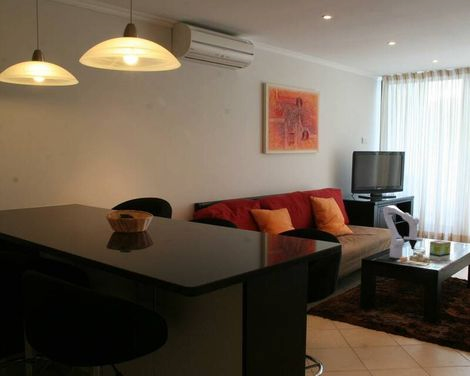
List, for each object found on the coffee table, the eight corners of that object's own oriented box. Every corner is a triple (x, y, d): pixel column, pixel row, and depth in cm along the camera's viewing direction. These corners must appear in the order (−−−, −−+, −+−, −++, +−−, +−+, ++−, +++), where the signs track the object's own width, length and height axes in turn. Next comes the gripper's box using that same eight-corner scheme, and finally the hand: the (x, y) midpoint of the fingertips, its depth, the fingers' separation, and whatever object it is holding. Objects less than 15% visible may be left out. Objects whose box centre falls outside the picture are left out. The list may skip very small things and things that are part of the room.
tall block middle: (416, 261, 378) (416, 253, 377) (418, 260, 381) (418, 252, 380) (421, 262, 375) (421, 254, 375) (423, 261, 378) (423, 253, 378)
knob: (400, 260, 375) (400, 257, 375) (402, 259, 378) (402, 256, 378) (405, 261, 372) (405, 257, 372) (407, 260, 376) (407, 256, 376)
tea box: (440, 261, 379) (440, 243, 378) (428, 259, 387) (429, 241, 386) (450, 259, 388) (451, 241, 387) (438, 256, 396) (439, 239, 395)
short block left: (409, 260, 381) (409, 255, 381) (411, 259, 384) (411, 255, 384) (414, 261, 379) (414, 256, 379) (416, 260, 382) (416, 255, 382)
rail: (397, 261, 376) (397, 260, 376) (401, 260, 382) (401, 259, 382) (425, 266, 361) (425, 265, 361) (428, 264, 367) (428, 263, 367)
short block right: (423, 262, 374) (423, 257, 374) (424, 261, 377) (425, 257, 377) (428, 263, 371) (428, 258, 371) (430, 262, 374) (430, 257, 374)
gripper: (402, 232, 381) (401, 248, 382) (420, 234, 371) (419, 251, 372) (405, 231, 386) (405, 247, 387) (423, 233, 377) (423, 249, 378)
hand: (412, 249), depth 380 cm, fingers closed
